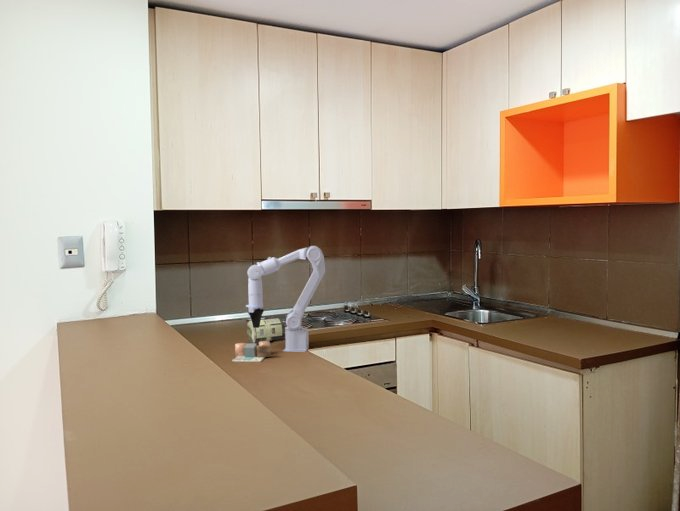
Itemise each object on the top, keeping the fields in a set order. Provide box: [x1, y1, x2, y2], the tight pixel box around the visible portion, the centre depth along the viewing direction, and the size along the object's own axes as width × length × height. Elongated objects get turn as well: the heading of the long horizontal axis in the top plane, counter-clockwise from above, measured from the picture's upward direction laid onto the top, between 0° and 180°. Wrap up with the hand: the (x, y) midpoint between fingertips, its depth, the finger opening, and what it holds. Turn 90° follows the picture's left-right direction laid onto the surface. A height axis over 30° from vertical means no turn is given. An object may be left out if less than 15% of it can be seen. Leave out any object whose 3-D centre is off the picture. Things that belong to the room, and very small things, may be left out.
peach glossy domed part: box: [234, 342, 247, 357], centre depth 213 cm, size 4×4×4 cm
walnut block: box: [256, 344, 272, 358], centre depth 211 cm, size 5×3×4 cm, turn 113°
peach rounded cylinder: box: [258, 341, 271, 346], centre depth 216 cm, size 4×4×4 cm
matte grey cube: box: [244, 342, 258, 357], centre depth 211 cm, size 4×4×4 cm
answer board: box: [231, 356, 266, 363], centre depth 212 cm, size 11×14×1 cm
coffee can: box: [246, 317, 285, 344], centre depth 239 cm, size 10×10×14 cm
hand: (256, 327), depth 221 cm, fingers closed
